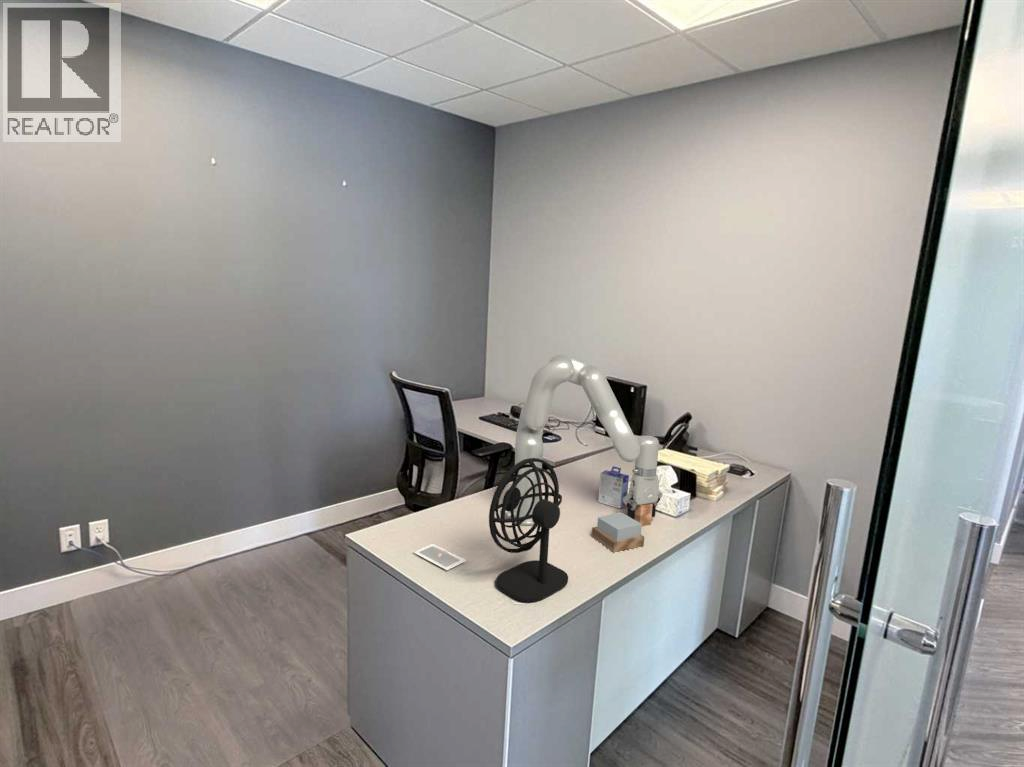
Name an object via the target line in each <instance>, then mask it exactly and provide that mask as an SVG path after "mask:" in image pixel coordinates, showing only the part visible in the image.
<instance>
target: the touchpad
mask: <svg viewBox="0 0 1024 767" xmlns="http://www.w3.org/2000/svg"><path fill="white" fill-rule="evenodd" d="M413 553H414V554H415V555H418V556H419V557H421V558H422V559H425V560H426V561H428V562H430V563H433V564H434V565H436V566H438V567H440V568H442V569H443V570H445V571H449V570H451V569H452V568H455V567H456V566H459V565H461V564H463V563H464V562H467V559H464V558H462V557H461V556H458V555H457V554H454V553H453V552H450V551H448V550H446V549H444V548H442V547H441V546H438V545H436V544H434V543H431V544H429V545H427V546H424V547H422V548H420V549H418V550H415V551H413Z"/></svg>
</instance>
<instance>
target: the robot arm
mask: <svg viewBox="0 0 1024 767" xmlns="http://www.w3.org/2000/svg"><path fill="white" fill-rule="evenodd" d="M567 382H569V383H571V384H575V385H577V386H580V387H582V389H583V390H584V392H585V395H586V397H587V399H588V401H589V403H590V405H591V407H592V409H593V411H594V413H595V415H596V416H597V419H598V420H599V422H600V424H601V425H602V426H603V428H604V429H605V431H606V432H607V434H608V437H609V438H610V441H612V444H613V445H612V447H613V449H614V450H615V452H616V453H617V455H618V457H619V458H620V459H621V460H622V461H624V462H627V463H632V462H634V467H633V469H632V471H631V472H632V473H633V474H632V476H631V479H630V485H629V488H628V489H629V491H628V492H627V495H626V496H625V497H624V498H623V501H624V504H625V505H626V506H625V507H626V508H627V516H629V517H630V518H632V519H634V520H635V510H634V509H635V507H636V505H643V504H649V503H652V504H653V506H652V517H651V518H655V517H656V510H657V509H656V507H658V503H660V500H661V498H662V497H663V492H662V491H660V488H659V486H660V485H659V484H660V482H659V477H658V474H657V468H658V457H659V448H660V446H659V445H660V441H659V439H658V438H657V437H655V436H653V435H636V434H634V433H633V429H632V428H631V427H630V424H629V422H628V420H627V418H626V416H625V413H624V411H623V410H622V408H621V405H620V403H619V401H618V400H617V397H616V396H615V393H614V392H613V390H612V387H611V386H610V383H609V382H608V380H607V378H606V376H605V374H604V372H603V371H602V370H601V369H600V368H598V367H597V366H595V365H592V364H589V363H587V362H584V361H581V360H578V359H576V358H573V357H571V356H568V355H564V354H555V355H554V356H553V357H551V359H550V360H549V362H547V363H546V364H544V365H543V366H542V367H540V368H539V369H538V370H537V371H536V372H535V374H534V375H533V377H532V379H531V382H530V386H529V391H528V394H527V397H526V400H525V402H524V403H523V404H522V407H521V410H520V414H519V418H518V419H519V420H518V424H517V429H516V435H515V448H514V450H515V451H514V452H515V453H514V465H516V464H517V463H519V462H520V461H522V460H525V459H529V458H538V459H541V460H543V457H544V442H543V439H542V438H543V433H544V429H545V426H546V425H547V424H548V422H549V419H550V411H551V406H552V401H553V398H554V394H555V391H556V389H557V387H558V386H560V385H561V384H563V383H567ZM527 464H529V463H527ZM534 464H535V465H536V467H538V468H542V469H543V463H541V462H534ZM529 469H532V467H527V468H523V469H520V470H519V472H518V475H519V474H523V473H524V472H525V471H527V470H529ZM538 473H539V472H538ZM514 474H515V473H514ZM514 474H513V475H514ZM527 476H528V477H529V478H530V479H531V480H532V481H533V483H534V485H535V484H537V479H536V475H535V472H532V473H530V474H528V475H527ZM539 477H540V481H541V482H542V476H541V474H540V473H539ZM517 478H518V477H517ZM517 478H516V479H517ZM516 487H517V488H518V489H519V490H520V493H521V496H523V495H524V494H525V493H526V491H527V490H528V489H529V488H530V487H532V485H531V483H530V481H529V480H528V479H527V478H526V477H524V478H523V479H522V480H521V481H520V482H519V483H518V484H517V485H516ZM535 493H539V490H538V486H537V487H535ZM529 494H533V489H532V490H531V491H530V492H529V493H528V495H529ZM520 501H521V500H520ZM531 502H532V497H531V498H526V499H524V501H523V504H522V506H521V509H520V515H519V517H523V516H525V515H526V514H527V512H528V510H529V508H530V505H531ZM537 502H539V496H537V497H535V501H534V505H533V507H532V510H531V512H530V514H529V515H531V514H532V512H533V509H534V507H535V505H536V504H537ZM519 503H520V502H519ZM632 503H633V505H632ZM518 506H519V504H518ZM518 506H517V507H516V508H515V509H514V518H516V516H517V510H518ZM501 510H502V509H500V511H499V514H500V515H499V516H501ZM505 517H506V518H507V519H510V518H511V511H505ZM516 523H517V522H515V524H516ZM533 525H534V522H533V520H532V518H531V519H527V520H524V521H523V522H522V523H521V524H520V526H533Z"/></svg>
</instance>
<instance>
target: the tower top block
mask: <svg viewBox="0 0 1024 767" xmlns="http://www.w3.org/2000/svg"><path fill="white" fill-rule="evenodd" d="M596 527H597V529H598V530H600V531H601V532H603V533H604V534H606V535H608V536H609V537H611V538H612V539H614V540H615V541H621V540H625V539H629V538H633V537H637V536H641V535H642V527H643V526H642V524H641V523H639V522H637V521H636V520H634V519H632V518H630V517H629V516H628V514H625V513H623V512H622V511H621V512H617V513H612V514H608V515H607V514H606V515H602V516H599V517H597V525H596Z"/></svg>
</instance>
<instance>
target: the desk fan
mask: <svg viewBox="0 0 1024 767" xmlns="http://www.w3.org/2000/svg"><path fill="white" fill-rule="evenodd" d="M534 462H541V463H542V465H544V466H545V467H546V468H547V469H544V468H543V467H542V468H538V467H536V465H535V464H534ZM527 463H529V464H527ZM527 467H532V469H529V470H527V471H525V472H524V473H523V474H519V475H518V472H519V470H520V469H523V468H527ZM532 472H535V475H536V479H537V484H535V485H534V483H533V481H532V480H531V479H530V478H529V477H528V476H527V475H528V474H530V473H532ZM538 472H539V473H540V474H541V479H542V480H543V482H542V480H541V481H540V477H539V473H538ZM514 473H515V474H514ZM546 474H547V475H548V477H549V478H550V480H551V482H552V485H553V487H554V488H553V487H552V486H551V485H550V484H549V482H548V479H547V475H546ZM517 477H518V478H517ZM524 477H526V478H527V479H528V480H529V481H530V483H531V485H532V487H530V488H529V489H528V490H527V491H526V493H525V494H524V495H523V496H521V493H520V490H519V489H518V488H517V487H516V485H517V484H518V483H519V482H520V481H521V480H522V479H523V478H524ZM516 478H517V479H516ZM558 479H559V478H558V475H557V474H556V471H555V469H554V468H553V466H552V465H551V464H550V463H548V462H547V461H545V459H544V460H543V459H542V460H541V459H538V458H529V459H525V460H522V461H520V462H519V463H517V464H516V465H515V464H514V465H513V466H511V468H509V470H508V471H507V472H506V473H505V474H504V475H503V477H502V478H501V480H500V481H499V483H498V484H497V486H496V489H495V491H494V493H493V496H492V499H491V502H490V507H489V513H488V527H489V532H490V535H491V537H492V540H493V543H494V544H496V545H497V547H498V548H500V549H501V550H503V551H504V552H507V553H510V554H520V553H523V552H528V551H530V550H532V549H533V548H534V546H535V545H536V544H537V543H538V542H539V555H538V556H539V558H538V560H527V561H524V562H521V563H519V564H517V565H515V566H513V567H510V568H508V569H506V570H504V571H502V572H500V573H499V574H498V575H497V576H496V578H495V585H496V588H497V589H499V590H500V591H501V592H503V593H505V594H506V595H508V596H510V597H511V598H513V599H514V600H516V601H520V602H529V603H530V602H538V601H540V600H543V599H544V598H547V597H548V596H550V595H552V594H554V593H556V592H557V591H560V590H561V589H563V588H564V587H565V586H566V585H567V584H568V582H569V574H568V573H567V572H566V571H565V570H563V569H561V568H559V567H557V566H555V565H553V564H552V563H549V562H548V558H549V543H550V542H549V540H550V529H553V528H554V527H555V526H556V525H557V524H558V522H559V520H560V517H561V516H560V515H561V508H560V507H559V506H560V505H561V504H562V501H563V496H562V495H561V494H560V487H559V480H558ZM510 482H512V483H511V485H510V487H509V488H508V489H507V491H506V492H505V493H504V494H503V492H504V491H505V488H506V487H507V486H508V485H509V483H510ZM537 486H538V490H539V493H535V487H537ZM542 486H544V492H543V489H542ZM532 489H533V494H529V495H528V493H529V492H530V491H531V490H532ZM549 490H550V491H549ZM502 494H503V498H502V503H500V499H501V497H502ZM537 496H539V502H537V504H536V505H535V507H534V509H533V512H532V514H531V515H529V514H530V512H531V510H532V507H533V505H534V501H535V497H537ZM531 497H532V502H531V505H530V508H529V510H528V512H527V514H526V515H525V516H523V517H519V515H520V509H521V506H522V504H523V501H524V499H526V498H531ZM543 497H544V498H543ZM549 497H553V501H551V500H549ZM520 500H521V501H520ZM519 502H520V503H519ZM518 504H519V506H518ZM517 506H518V510H517V516H516V518H514V509H515V508H516V507H517ZM499 509H500V510H501V515H499V514H500V512H499ZM505 511H511V518H510V519H509V518H506V515H505ZM495 516H496V517H495ZM531 518H532V520H533V522H534V525H531V526H530V529H528V530H527V531H526V532H525V533H524V532H523V530H522V527H521V525H520V524H521V523H522V522H523V521H524V520H527V519H531ZM515 522H517V523H515ZM496 523H499V524H500V529H501V532H502V534H501V533H500V532H499V529H498V527H497V524H496ZM507 523H508V524H510V523H511V524H510V525H508V524H507ZM516 527H517V528H516ZM506 528H511V529H512V533H513V536H514V538H510V537H509V536H508V533H507V530H506ZM517 530H518V531H519V533H520V534H521V536H518V532H517ZM535 530H536V532H535V534H532V533H533V532H534V531H535ZM527 538H529V539H532V540H530V541H528V542H525V543H522V542H521V541H523V540H525V539H527ZM499 539H501V540H502V541H504V542H506V543H508V544H510V545H513V546H514V547H517V548H508V547H505V546H504V545H503V544H502V543H501V541H500V540H499Z"/></svg>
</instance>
